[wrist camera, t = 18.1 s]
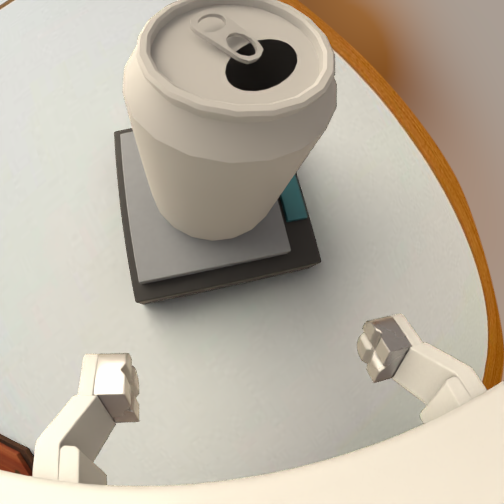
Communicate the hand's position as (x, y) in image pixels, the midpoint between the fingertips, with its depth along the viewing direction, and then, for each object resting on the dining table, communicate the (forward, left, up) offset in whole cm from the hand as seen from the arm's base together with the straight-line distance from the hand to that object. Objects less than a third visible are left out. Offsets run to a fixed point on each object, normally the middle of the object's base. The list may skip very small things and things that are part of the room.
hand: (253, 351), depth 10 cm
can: (-1, -9, -8) cm, 12 cm away
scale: (-1, -9, -11) cm, 15 cm away
